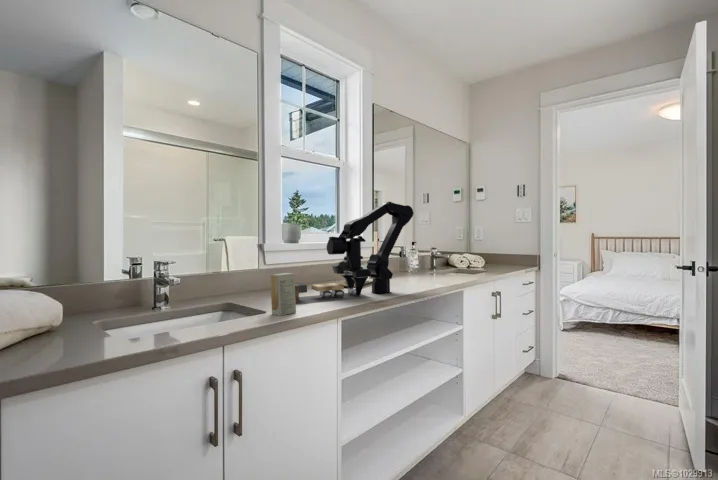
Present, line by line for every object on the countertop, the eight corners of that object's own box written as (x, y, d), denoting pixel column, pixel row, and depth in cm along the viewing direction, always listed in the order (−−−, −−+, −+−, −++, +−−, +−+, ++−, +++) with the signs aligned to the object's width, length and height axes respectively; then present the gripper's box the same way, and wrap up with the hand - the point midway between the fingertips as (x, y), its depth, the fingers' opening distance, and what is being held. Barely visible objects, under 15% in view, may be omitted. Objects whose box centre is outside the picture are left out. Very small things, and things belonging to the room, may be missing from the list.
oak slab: (336, 287, 147) (336, 283, 147) (343, 289, 140) (343, 285, 140) (311, 288, 143) (311, 284, 143) (318, 291, 135) (318, 287, 135)
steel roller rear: (333, 297, 145) (339, 293, 146) (339, 299, 140) (345, 295, 141) (330, 290, 145) (336, 286, 146) (335, 292, 139) (342, 288, 140)
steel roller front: (321, 298, 143) (328, 294, 144) (326, 300, 138) (333, 296, 139) (318, 291, 143) (325, 287, 144) (323, 293, 137) (330, 289, 138)
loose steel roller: (354, 294, 149) (354, 286, 149) (361, 296, 144) (361, 288, 144) (347, 294, 148) (347, 287, 148) (353, 296, 142) (354, 288, 142)
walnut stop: (299, 299, 142) (299, 282, 142) (307, 302, 133) (306, 284, 133) (283, 300, 139) (283, 283, 139) (290, 304, 130) (290, 286, 130)
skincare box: (288, 311, 118) (287, 272, 118) (296, 313, 115) (295, 273, 115) (270, 314, 113) (269, 274, 113) (278, 316, 110) (277, 274, 110)
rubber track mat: (354, 293, 154) (354, 292, 154) (371, 298, 140) (371, 297, 140) (282, 299, 142) (282, 298, 142) (292, 305, 127) (292, 304, 127)
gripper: (325, 253, 151) (326, 292, 151) (343, 255, 134) (344, 298, 134) (351, 253, 155) (351, 290, 155) (371, 254, 138) (372, 296, 138)
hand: (354, 293), depth 146 cm, fingers open, 7 cm apart
